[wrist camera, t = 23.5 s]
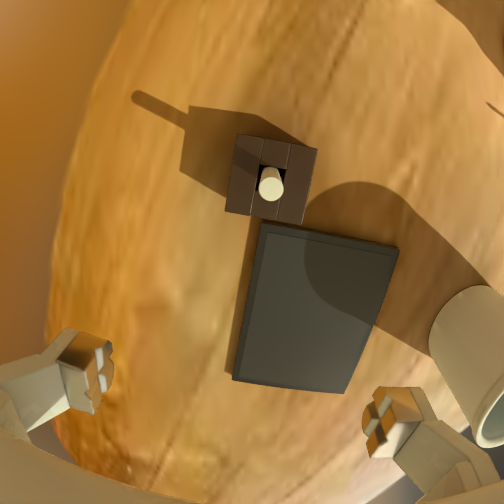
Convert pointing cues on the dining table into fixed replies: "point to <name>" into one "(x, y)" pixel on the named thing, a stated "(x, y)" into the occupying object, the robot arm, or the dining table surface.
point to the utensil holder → (474, 358)
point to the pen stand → (293, 178)
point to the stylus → (270, 184)
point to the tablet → (310, 307)
